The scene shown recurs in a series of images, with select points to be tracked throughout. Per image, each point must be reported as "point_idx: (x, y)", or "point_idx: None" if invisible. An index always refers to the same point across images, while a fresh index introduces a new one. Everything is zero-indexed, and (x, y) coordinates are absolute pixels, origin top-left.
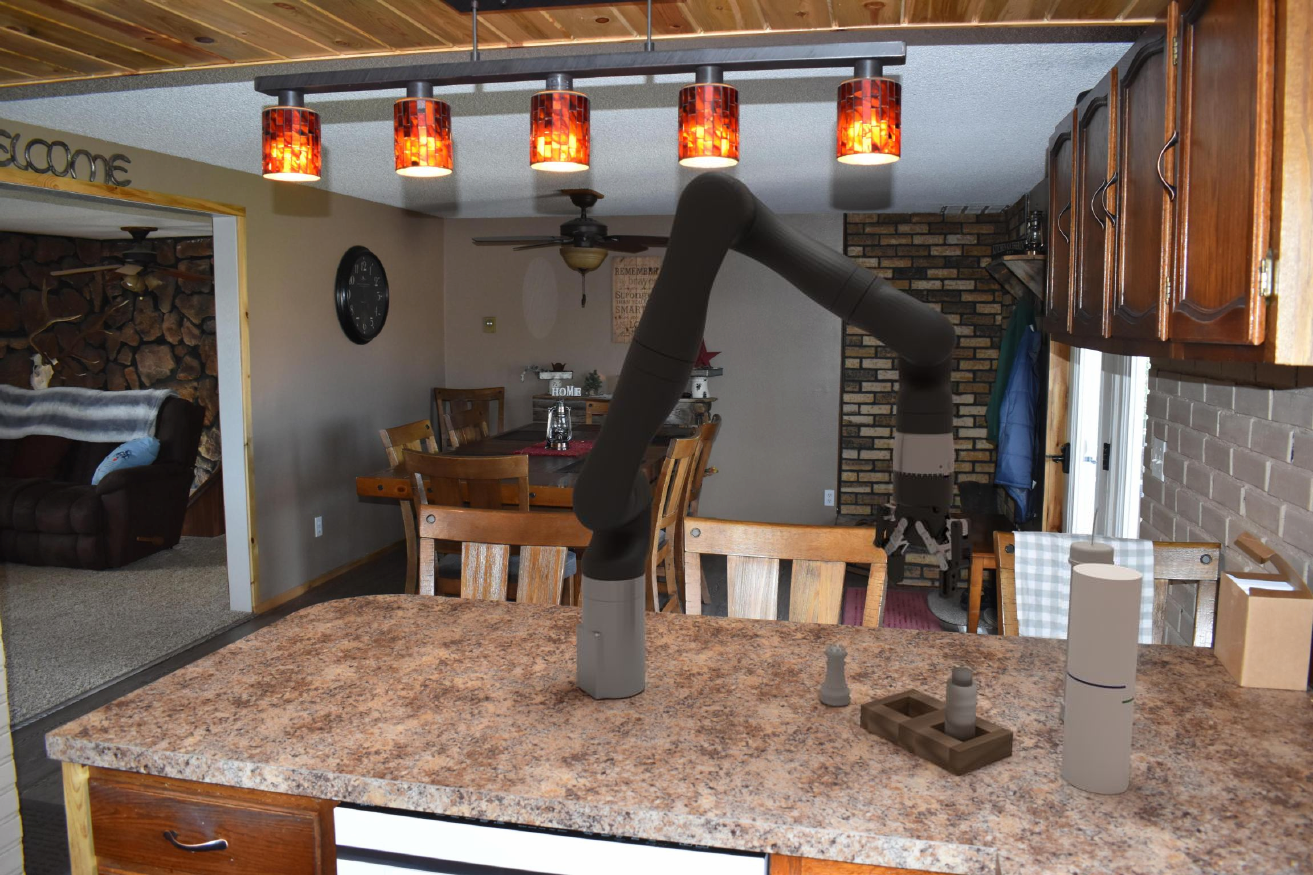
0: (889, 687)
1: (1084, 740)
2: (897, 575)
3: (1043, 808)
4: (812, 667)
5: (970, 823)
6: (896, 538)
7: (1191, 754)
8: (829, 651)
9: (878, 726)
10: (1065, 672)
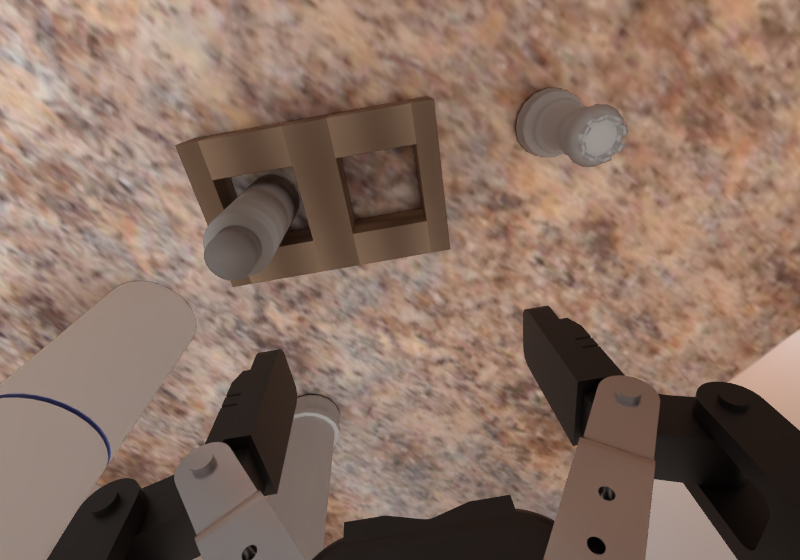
0: (535, 255)
1: (73, 325)
2: (535, 347)
3: (69, 193)
4: (690, 179)
5: (21, 34)
6: (589, 480)
7: None
8: (600, 112)
9: (380, 106)
10: (317, 457)
